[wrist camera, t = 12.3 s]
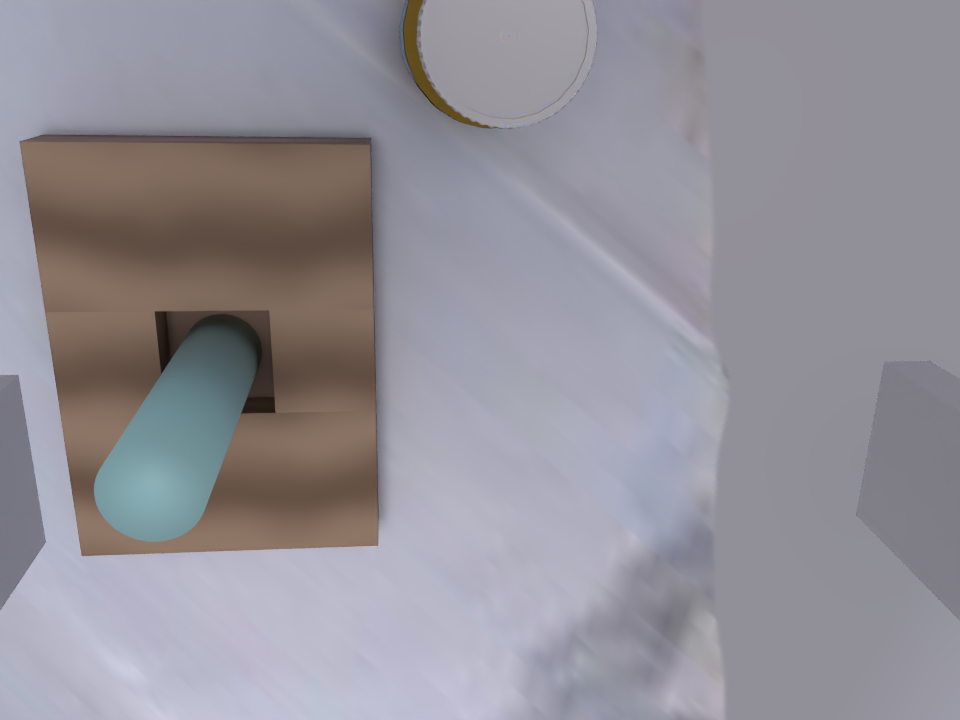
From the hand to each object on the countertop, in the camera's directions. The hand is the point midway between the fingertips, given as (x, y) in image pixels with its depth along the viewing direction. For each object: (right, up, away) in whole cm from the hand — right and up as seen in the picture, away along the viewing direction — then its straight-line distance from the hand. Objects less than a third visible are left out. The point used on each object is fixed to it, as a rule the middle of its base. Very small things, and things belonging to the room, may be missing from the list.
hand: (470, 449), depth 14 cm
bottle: (0, +17, +31) cm, 36 cm away
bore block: (-14, +2, +35) cm, 37 cm away
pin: (-13, +2, +34) cm, 37 cm away
